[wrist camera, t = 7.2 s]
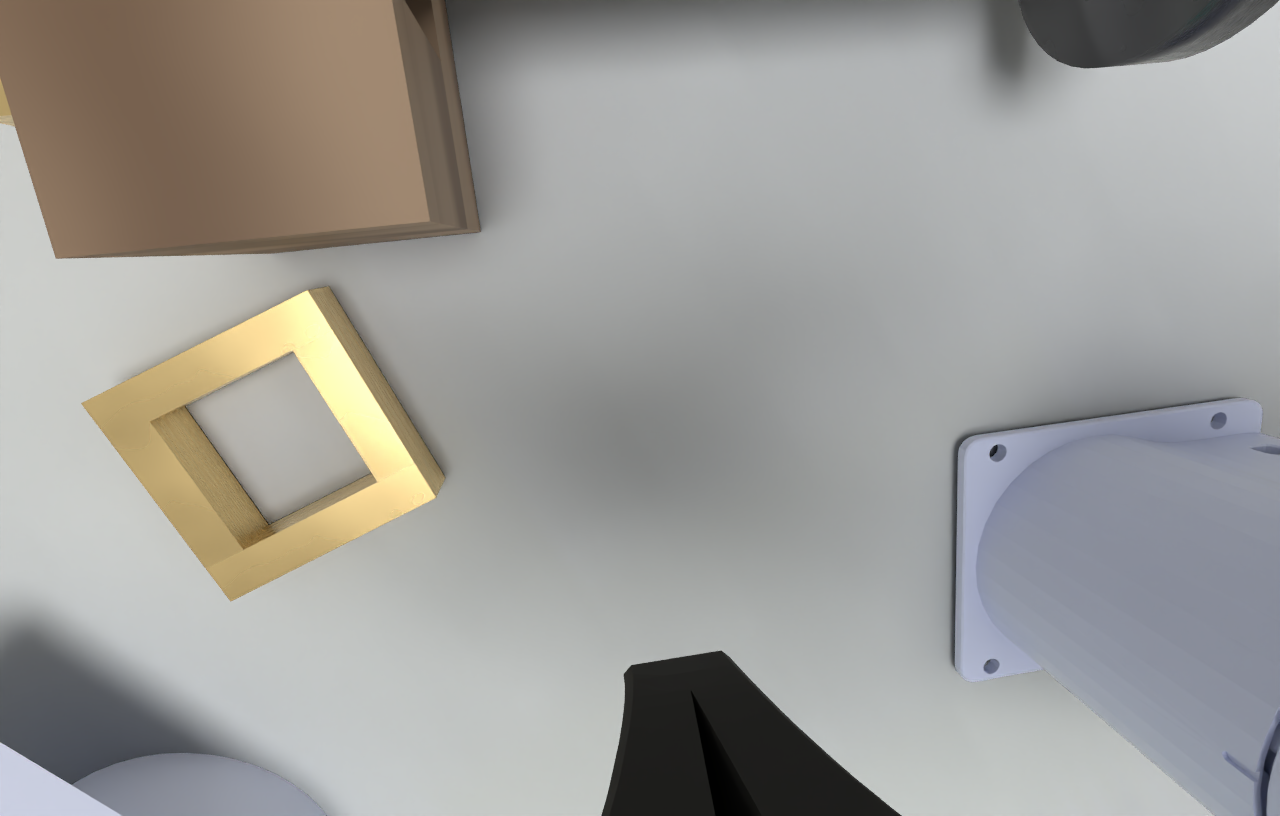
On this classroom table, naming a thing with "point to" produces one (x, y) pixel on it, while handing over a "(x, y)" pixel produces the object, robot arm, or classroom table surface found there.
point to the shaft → (1135, 28)
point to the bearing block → (237, 123)
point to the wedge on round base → (151, 789)
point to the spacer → (205, 487)
